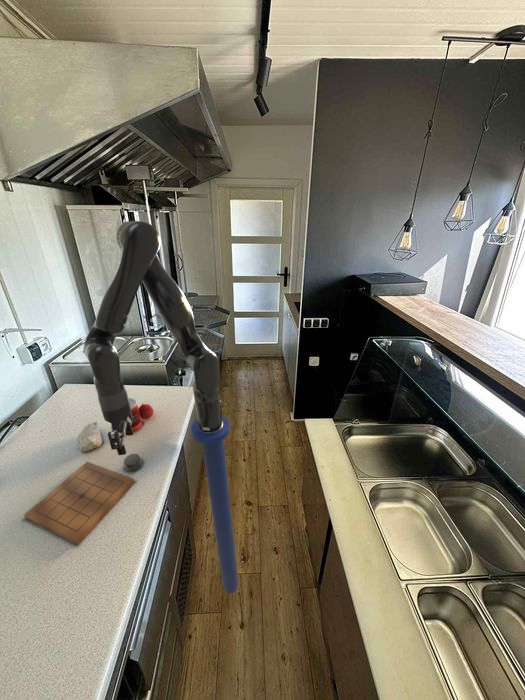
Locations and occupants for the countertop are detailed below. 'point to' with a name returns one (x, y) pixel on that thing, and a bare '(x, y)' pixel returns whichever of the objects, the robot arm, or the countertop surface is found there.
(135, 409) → the canned food
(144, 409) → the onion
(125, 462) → the black stone
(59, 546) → the countertop surface
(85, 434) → the stone
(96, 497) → the grid board
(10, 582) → the countertop surface
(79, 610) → the countertop surface
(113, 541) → the countertop surface
